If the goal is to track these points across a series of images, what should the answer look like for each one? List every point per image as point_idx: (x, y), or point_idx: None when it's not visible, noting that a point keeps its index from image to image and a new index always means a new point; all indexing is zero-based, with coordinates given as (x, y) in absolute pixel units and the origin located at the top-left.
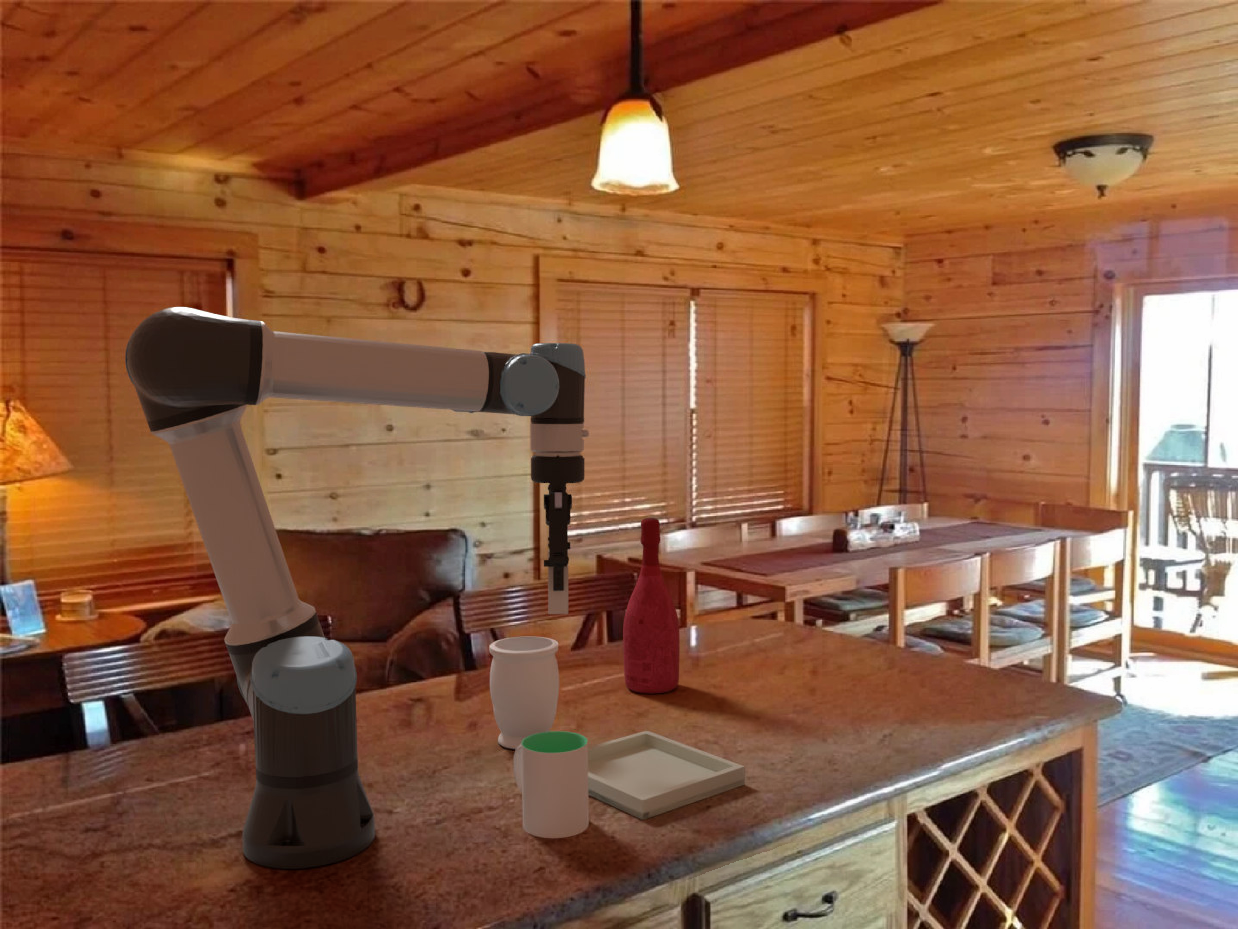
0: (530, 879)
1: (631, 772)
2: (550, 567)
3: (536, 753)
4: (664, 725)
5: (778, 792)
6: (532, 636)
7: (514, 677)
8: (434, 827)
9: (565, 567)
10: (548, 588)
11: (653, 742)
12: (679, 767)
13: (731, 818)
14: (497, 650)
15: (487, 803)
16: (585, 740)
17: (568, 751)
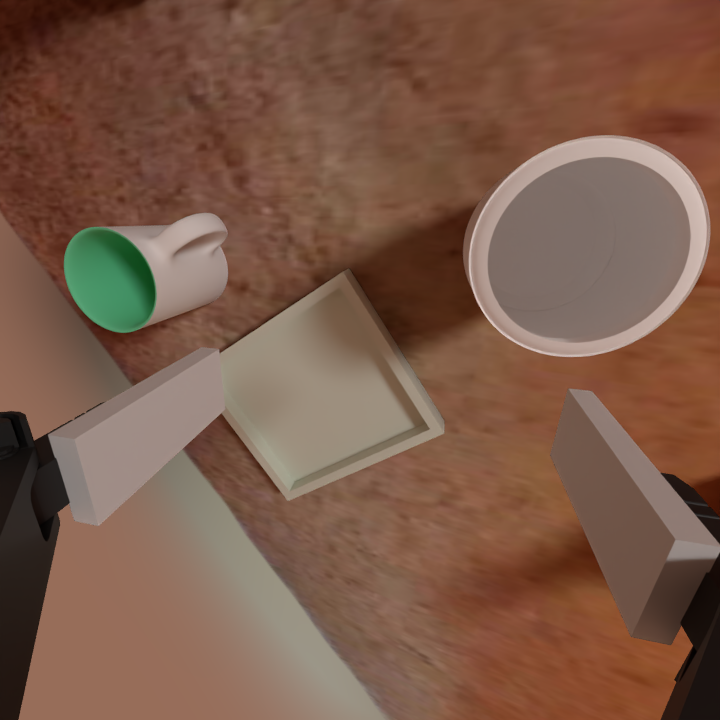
0: (64, 229)
1: (325, 380)
2: (55, 442)
3: (68, 250)
4: (540, 465)
5: (273, 508)
6: (681, 290)
7: (473, 222)
8: (178, 95)
9: (74, 505)
10: (137, 384)
11: (415, 431)
12: (336, 438)
13: (210, 447)
14: (528, 168)
15: (256, 173)
16: (124, 329)
17: (74, 299)
